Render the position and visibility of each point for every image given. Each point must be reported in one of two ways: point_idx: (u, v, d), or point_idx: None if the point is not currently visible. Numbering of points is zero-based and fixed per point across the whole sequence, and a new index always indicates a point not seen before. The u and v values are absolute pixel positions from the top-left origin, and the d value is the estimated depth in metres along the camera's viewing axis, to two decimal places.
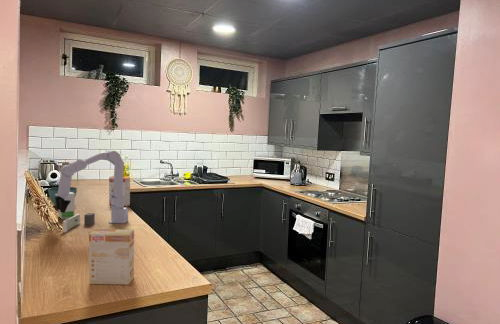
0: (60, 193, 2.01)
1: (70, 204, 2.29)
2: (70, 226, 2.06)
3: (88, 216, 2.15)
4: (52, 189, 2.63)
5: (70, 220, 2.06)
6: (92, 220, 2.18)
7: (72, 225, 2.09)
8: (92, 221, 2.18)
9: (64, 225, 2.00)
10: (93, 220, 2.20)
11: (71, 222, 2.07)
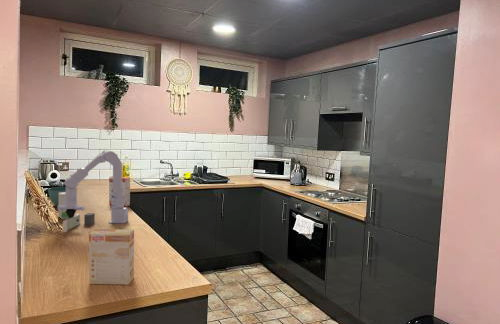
0: (72, 206, 2.07)
1: None
2: (70, 226, 2.06)
3: (88, 216, 2.15)
4: (52, 189, 2.63)
5: (70, 220, 2.06)
6: (92, 220, 2.18)
7: (73, 225, 2.09)
8: (92, 221, 2.18)
9: (64, 225, 2.00)
10: (93, 220, 2.20)
11: (71, 222, 2.07)
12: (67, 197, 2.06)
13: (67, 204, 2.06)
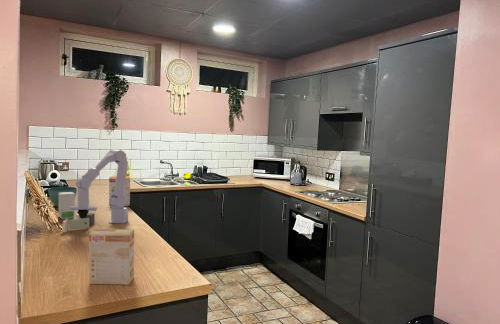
0: (85, 206, 2.07)
1: (70, 204, 2.29)
2: (73, 227, 2.04)
3: (88, 216, 2.15)
4: (52, 189, 2.63)
5: (73, 221, 2.04)
6: (92, 220, 2.18)
7: (77, 227, 2.06)
8: (92, 221, 2.18)
9: (64, 225, 2.00)
10: (93, 220, 2.20)
11: (75, 223, 2.05)
12: (80, 198, 2.06)
13: (79, 205, 2.06)
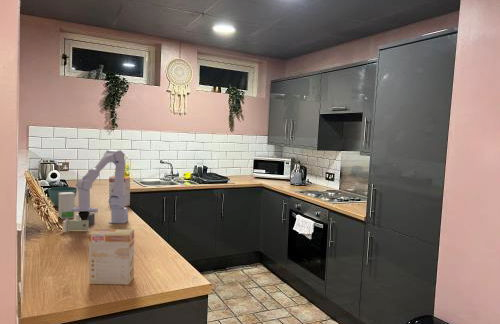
0: (85, 208, 2.03)
1: (70, 204, 2.29)
2: (72, 228, 2.03)
3: (88, 216, 2.15)
4: (52, 189, 2.63)
5: (72, 222, 2.03)
6: (92, 220, 2.18)
7: (76, 228, 2.03)
8: (92, 221, 2.18)
9: (64, 225, 2.00)
10: (93, 220, 2.20)
11: (74, 224, 2.03)
12: (82, 199, 2.02)
13: (80, 206, 2.02)
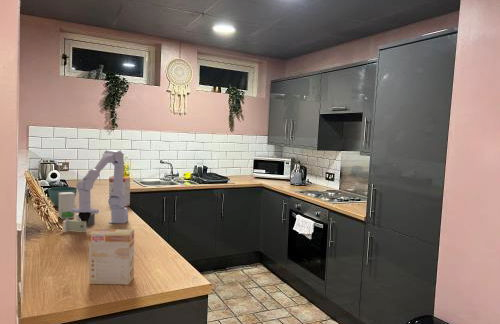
0: (86, 209, 2.01)
1: (70, 204, 2.29)
2: (71, 228, 2.02)
3: None
4: (52, 189, 2.63)
5: (71, 222, 2.02)
6: (92, 220, 2.18)
7: (75, 229, 2.02)
8: (92, 221, 2.18)
9: (64, 225, 2.00)
10: (93, 220, 2.20)
11: (73, 225, 2.02)
12: (83, 200, 2.00)
13: (81, 207, 2.01)
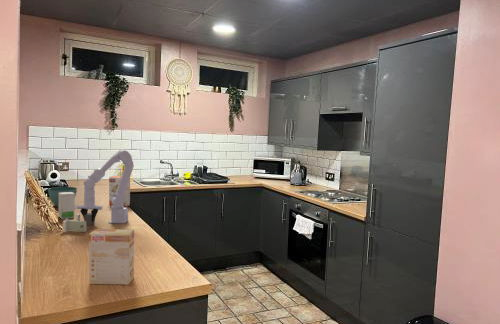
0: (91, 206, 2.15)
1: (70, 204, 2.29)
2: (71, 228, 2.02)
3: (88, 216, 2.15)
4: (52, 189, 2.63)
5: (71, 222, 2.02)
6: None
7: (75, 229, 2.02)
8: None
9: (64, 225, 2.00)
10: None
11: (73, 225, 2.02)
12: (85, 197, 2.14)
13: (86, 204, 2.14)
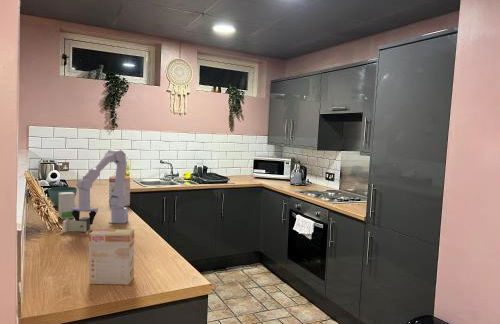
0: (86, 208, 2.05)
1: (70, 204, 2.29)
2: (71, 228, 2.02)
3: (83, 220, 2.06)
4: (52, 189, 2.63)
5: (71, 222, 2.02)
6: (87, 225, 2.08)
7: (75, 229, 2.02)
8: (87, 226, 2.08)
9: (64, 225, 2.00)
10: (89, 224, 2.10)
11: (73, 225, 2.02)
12: (82, 199, 2.04)
13: (80, 206, 2.04)
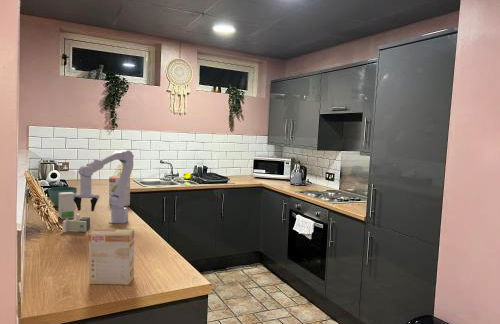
0: (87, 194, 2.06)
1: (70, 204, 2.29)
2: (71, 228, 2.02)
3: (83, 220, 2.06)
4: (52, 189, 2.63)
5: (71, 222, 2.02)
6: (87, 224, 2.08)
7: (75, 229, 2.02)
8: (87, 226, 2.08)
9: (64, 225, 2.00)
10: (89, 224, 2.10)
11: (73, 225, 2.02)
12: (83, 185, 2.05)
13: (82, 192, 2.06)
